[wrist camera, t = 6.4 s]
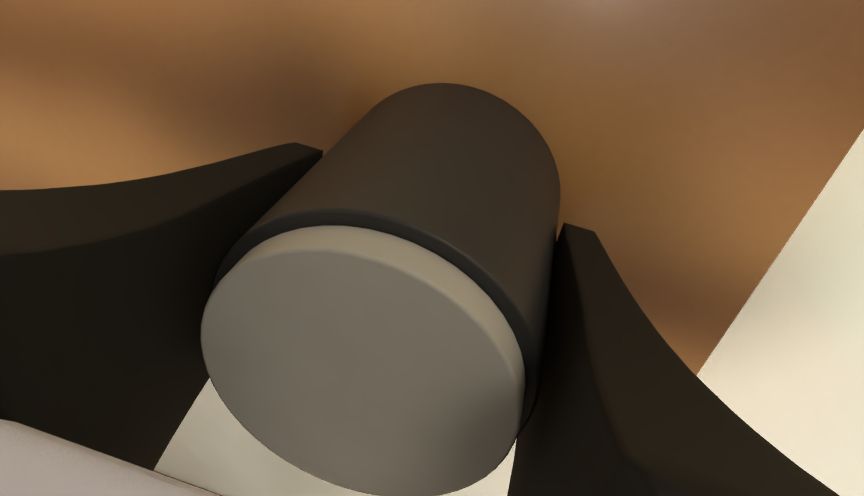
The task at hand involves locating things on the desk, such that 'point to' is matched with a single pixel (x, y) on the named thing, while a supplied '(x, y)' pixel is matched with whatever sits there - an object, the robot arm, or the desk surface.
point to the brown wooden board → (486, 70)
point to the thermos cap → (396, 298)
